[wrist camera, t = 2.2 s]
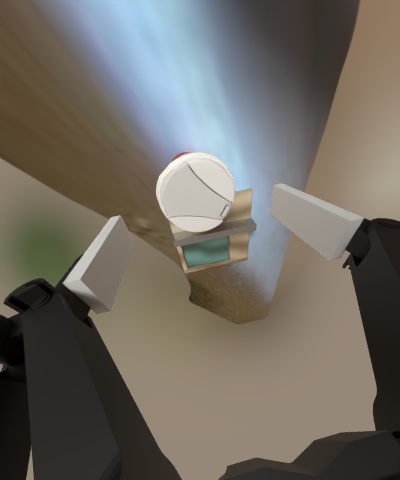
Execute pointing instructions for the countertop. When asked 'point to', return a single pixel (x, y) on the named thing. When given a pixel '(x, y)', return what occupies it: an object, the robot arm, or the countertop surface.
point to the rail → (214, 232)
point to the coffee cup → (195, 191)
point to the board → (219, 240)
